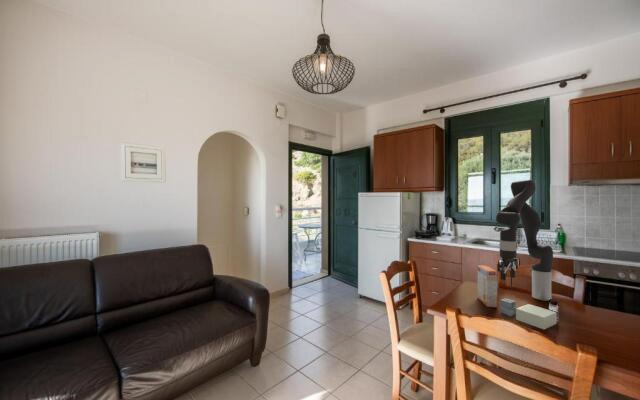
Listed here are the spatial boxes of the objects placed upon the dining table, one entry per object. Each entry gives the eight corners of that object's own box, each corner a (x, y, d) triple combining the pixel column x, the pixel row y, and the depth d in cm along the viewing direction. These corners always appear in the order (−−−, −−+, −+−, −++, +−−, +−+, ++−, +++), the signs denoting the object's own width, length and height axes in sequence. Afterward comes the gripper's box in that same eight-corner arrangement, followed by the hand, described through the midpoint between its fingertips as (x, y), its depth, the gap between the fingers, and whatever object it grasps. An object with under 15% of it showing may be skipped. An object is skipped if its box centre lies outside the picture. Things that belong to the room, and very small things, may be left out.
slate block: (506, 310, 149) (506, 298, 149) (515, 314, 145) (515, 301, 145) (500, 312, 147) (500, 299, 147) (510, 316, 143) (510, 303, 143)
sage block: (528, 314, 144) (528, 303, 144) (556, 324, 133) (556, 312, 133) (516, 320, 139) (516, 308, 139) (544, 330, 128) (544, 317, 128)
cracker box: (498, 308, 153) (497, 271, 153) (486, 307, 154) (486, 271, 154) (487, 298, 167) (487, 265, 166) (477, 298, 168) (477, 264, 168)
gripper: (508, 246, 152) (508, 275, 152) (492, 249, 146) (492, 278, 146) (523, 248, 145) (523, 278, 145) (507, 251, 139) (507, 282, 139)
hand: (508, 278), depth 146 cm, fingers open, 8 cm apart
